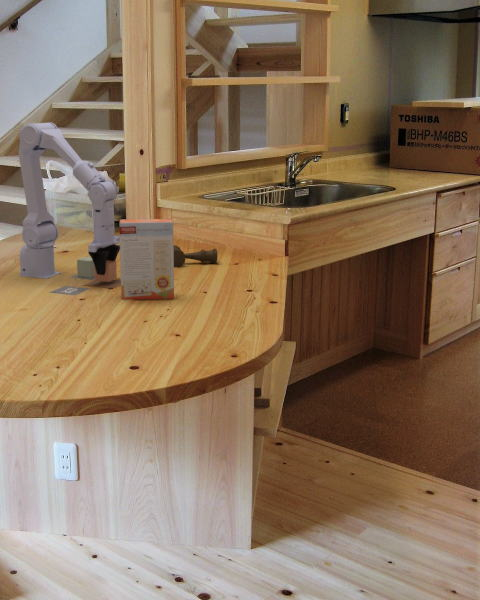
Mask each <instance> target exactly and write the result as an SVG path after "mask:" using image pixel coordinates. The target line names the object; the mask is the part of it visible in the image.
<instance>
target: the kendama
mask: <svg viewBox="0 0 480 600" xmlns="http://www.w3.org/2000/svg"><path fill="white" fill-rule="evenodd" d="M173 251H174V268H181V267H183V266H184V264H185V262H186V259H187V260H194V261H199V262H201V263H202V264H204V263H205V262H207V263H212V264H214V265H216V264H217V262H218V258H219V257H218V250H217V248H212V249H211V250H204V249H201V250H199V251H195V252H188V253H185V252H184V251H183V250H182V249H181V247H180V246H178V245H176V244H173Z"/></svg>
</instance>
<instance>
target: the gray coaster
mask: <svg viewBox="0 0 480 600" xmlns="http://www.w3.org/2000/svg"><path fill="white" fill-rule="evenodd" d="M69 278H71V279H79V280H90V281H94V280H95V277H92V278H86V277H78V274H74V275H72V276H70V277H69Z"/></svg>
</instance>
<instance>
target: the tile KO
mask: <svg viewBox="0 0 480 600" xmlns="http://www.w3.org/2000/svg"><path fill="white" fill-rule="evenodd" d="M88 290H90V288H87V287H80V286H79V287H78V286H68V285H63V286H62V287H61V286H60V287H58V288H56V289H54V290H52V291H50V292H48V293H49V294H58V295H60V294H61V295H66V296H67V295H68V296H77V295H80V294H82V293H84V292H87V291H88Z"/></svg>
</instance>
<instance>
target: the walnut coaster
mask: <svg viewBox="0 0 480 600" xmlns="http://www.w3.org/2000/svg"><path fill="white" fill-rule="evenodd" d="M84 286H86V287H94V288H95V287H96V288H104V289H115V288H116V287H118V286H121V279H114V280H112V281H110V282H106V281H97V280H91V281H90V282H86V284H84Z"/></svg>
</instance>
